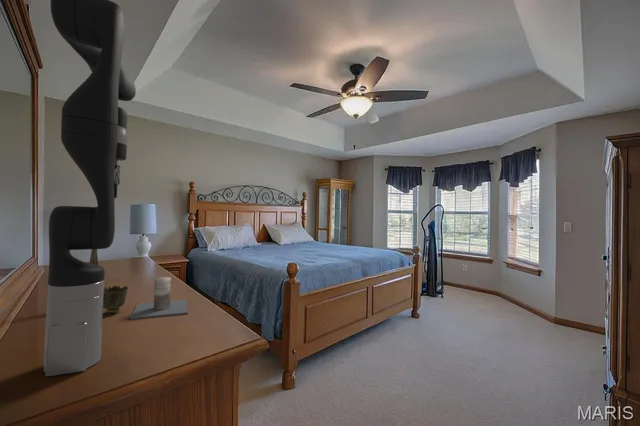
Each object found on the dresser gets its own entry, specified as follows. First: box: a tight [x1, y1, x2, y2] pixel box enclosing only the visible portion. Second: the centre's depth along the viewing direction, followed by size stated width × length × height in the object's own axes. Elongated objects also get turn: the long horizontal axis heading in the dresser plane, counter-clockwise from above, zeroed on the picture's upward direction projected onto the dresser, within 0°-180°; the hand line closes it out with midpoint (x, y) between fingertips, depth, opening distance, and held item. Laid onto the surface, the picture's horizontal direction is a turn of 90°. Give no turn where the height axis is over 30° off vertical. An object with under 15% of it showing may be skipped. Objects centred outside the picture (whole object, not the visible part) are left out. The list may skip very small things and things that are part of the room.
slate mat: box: [129, 299, 189, 321], centre depth 100 cm, size 16×16×1 cm
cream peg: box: [153, 276, 172, 310], centre depth 99 cm, size 5×5×10 cm
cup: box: [103, 285, 128, 315], centre depth 95 cm, size 8×7×8 cm
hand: (109, 197), depth 86 cm, fingers open, 8 cm apart
